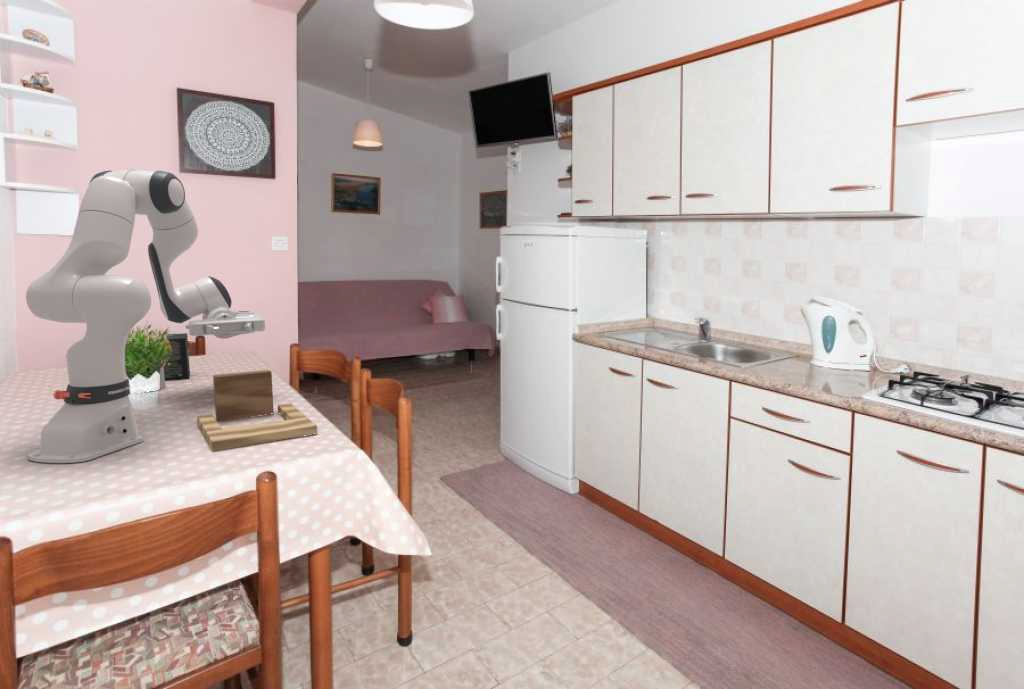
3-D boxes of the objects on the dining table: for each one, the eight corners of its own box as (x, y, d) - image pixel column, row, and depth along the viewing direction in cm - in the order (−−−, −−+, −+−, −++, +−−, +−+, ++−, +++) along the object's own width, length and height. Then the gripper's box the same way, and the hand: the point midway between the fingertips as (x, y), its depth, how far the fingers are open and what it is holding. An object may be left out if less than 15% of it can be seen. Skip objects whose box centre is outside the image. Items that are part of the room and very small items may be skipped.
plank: (215, 418, 162) (212, 375, 160) (270, 411, 170) (268, 369, 168) (218, 422, 160) (214, 377, 158) (273, 414, 167) (271, 371, 165)
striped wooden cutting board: (197, 423, 158) (196, 415, 157) (290, 410, 171) (290, 403, 170) (212, 451, 137) (212, 441, 137) (317, 434, 150) (317, 425, 150)
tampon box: (161, 375, 214) (157, 334, 212) (190, 373, 218) (187, 332, 216) (157, 381, 204) (154, 338, 202) (188, 379, 208) (185, 337, 206)
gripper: (183, 315, 176) (189, 320, 165) (258, 311, 187) (268, 316, 176) (185, 336, 177) (191, 343, 166) (259, 331, 189) (269, 337, 177)
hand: (231, 329), depth 171 cm, fingers open, 7 cm apart
